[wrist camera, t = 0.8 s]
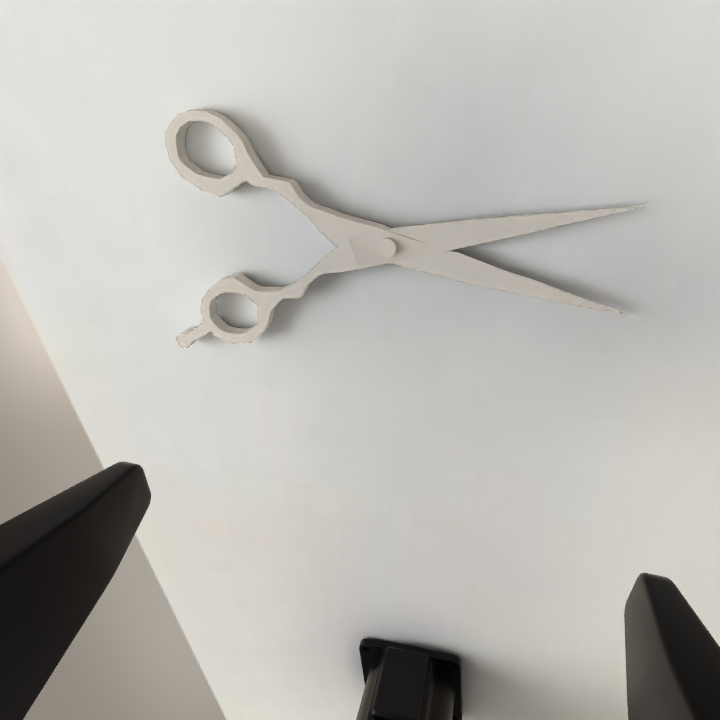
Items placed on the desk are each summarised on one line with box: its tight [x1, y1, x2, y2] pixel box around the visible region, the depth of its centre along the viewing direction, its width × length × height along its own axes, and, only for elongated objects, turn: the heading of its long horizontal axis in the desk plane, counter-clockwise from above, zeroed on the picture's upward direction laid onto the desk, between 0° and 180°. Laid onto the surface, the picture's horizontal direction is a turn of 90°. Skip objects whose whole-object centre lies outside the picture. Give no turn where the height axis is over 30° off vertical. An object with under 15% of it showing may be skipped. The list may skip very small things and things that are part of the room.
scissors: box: [165, 110, 644, 348], centre depth 22 cm, size 11×1×20 cm
